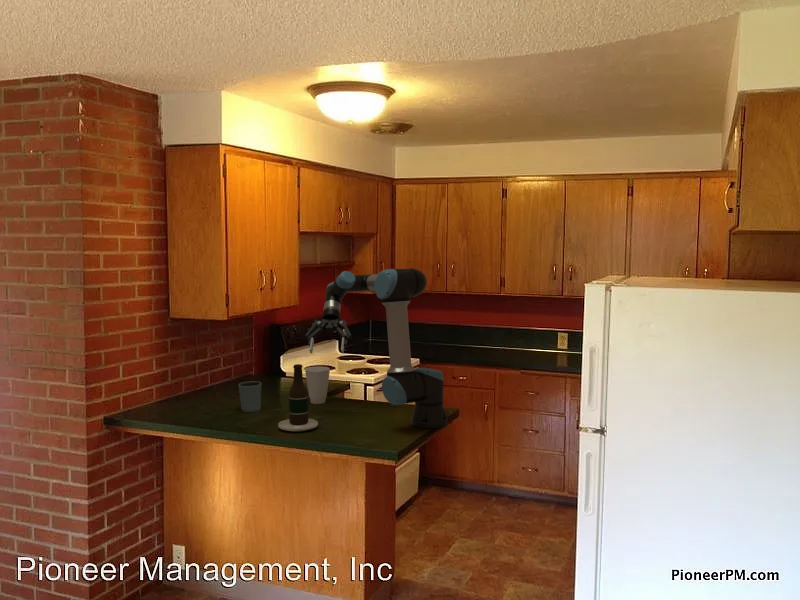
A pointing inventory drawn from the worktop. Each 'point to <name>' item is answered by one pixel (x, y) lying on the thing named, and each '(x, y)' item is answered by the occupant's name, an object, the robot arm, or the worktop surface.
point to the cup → (317, 383)
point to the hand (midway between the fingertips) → (326, 351)
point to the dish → (297, 428)
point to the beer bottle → (298, 399)
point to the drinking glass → (250, 396)
